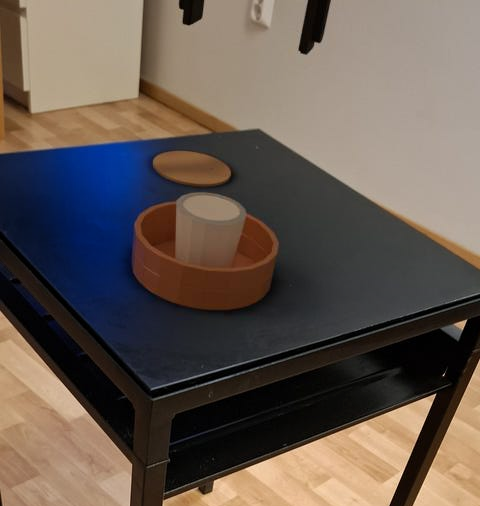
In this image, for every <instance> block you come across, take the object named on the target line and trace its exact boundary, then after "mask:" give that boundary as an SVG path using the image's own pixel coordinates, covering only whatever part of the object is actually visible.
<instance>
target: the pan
mask: <svg viewBox="0 0 480 506" xmlns="http://www.w3.org/2000/svg"><path fill="white" fill-rule="evenodd" d="M176 201H177V200H175V201H166V202H162V203H159V204H156V205H151V206H150V207H148V208H147V209H145V210H143V211H142V212H140V213H139V215H138V216H137V218H136V220H135V222H134V224H133V234H132V235H133V237H132V251H131V252H132V253H131V260H130V261H131V268H132V273H133V275H134V276H135V278H136V280H137V281H138V282H139V283H140V284H141V285H142V286H143V287H144V288H145V289H147V290H148V291H150V292H151V293H152V294H154V295H156V296H157V297H159V298H161V299H163V300H166V301H167V302H168V301H169V302H171V303H173V304H177V305H179V306H182V307H187V308H192V309H196V310H197V309H198V310H205V311H206V310H207V311H228V310H237V309H241V308H245V307H248V306H251V305H253V304H255V303H257V302H259V301H260V300H262V299H263V298H264V297H265V296H266V295H267V294H268V292H269V291H270V288H271V284H272V279H273V276H274V270H275V264H276V261H277V256H278V252H279V245H280V243H279V240H278V238H277V236H276V234H275V232H274V231H273V230H272V229H271V228H270V227H269V226H267V225H266V224H265V222H264V221H262V220H260V219H258V218H256V217H255V216H253V215H251V214H250V213H248V212H246V219H245V222H244V226H243V229H242V233H241V236H240V240H239V243H238V247H237V250H236V254H235V258H234V261H233V265H232V268H212V267H204V266H199V265H195V264H190V263H185V262H183V261H180V260H178V259H175V247H176Z"/></svg>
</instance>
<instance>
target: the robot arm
mask: <svg viewBox="0 0 480 506" xmlns="http://www.w3.org/2000/svg"><path fill="white" fill-rule="evenodd" d="M331 3H332V0H307V4H306V7H305V12H304V17H303V23H302V28H301V33H300V38H299V43H298V48H297V50H298V52H299V53H300V54H302V55H306V56H308V54H309V53H310V52H311V51H313V49H314V47H315V43H317V44H321V43H322V42H323V38H324V35H325V31H326V26H327V21H328V18H329V17H328V15H329V12H330V7H331ZM204 7H205V0H178V8H179V10H182V25H184V26H192V25H194V24H196V23H197V22H199V21H201V20H202V19H203V16H204V9H205V8H204Z"/></svg>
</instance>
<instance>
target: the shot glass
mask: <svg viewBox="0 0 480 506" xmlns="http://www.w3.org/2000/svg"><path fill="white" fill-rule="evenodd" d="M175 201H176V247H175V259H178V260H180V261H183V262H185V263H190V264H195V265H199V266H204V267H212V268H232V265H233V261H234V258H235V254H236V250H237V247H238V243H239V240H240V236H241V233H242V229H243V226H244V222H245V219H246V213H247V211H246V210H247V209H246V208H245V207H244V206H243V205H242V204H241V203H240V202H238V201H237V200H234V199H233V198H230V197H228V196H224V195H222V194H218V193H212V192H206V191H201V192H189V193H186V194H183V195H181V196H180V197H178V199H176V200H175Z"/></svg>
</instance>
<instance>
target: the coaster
mask: <svg viewBox="0 0 480 506" xmlns="http://www.w3.org/2000/svg"><path fill="white" fill-rule="evenodd" d="M152 167H153V169H154V171H155V172H156V173H158V175H160V176H161V177H163V178H165V179H167V180H168V181H171V182H174V183H177V184H180V185H185V186H190V187H201V188H209V187H210V188H211V187H216V186H221V185H225V183H227V182H229V181H230V179H231V177H232V171H231V169H230V167H229V166H228V165H227V164H226V163H225V162H223V161H222V160H220V159H218V158H216V157H214V156H211V155H208V154H205V153H200V152H196V151H189V150H187V151H186V150H172V151H166V152H162V153H159V154H158V155H156V156H155V157H154V158H153V159H152Z"/></svg>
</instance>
